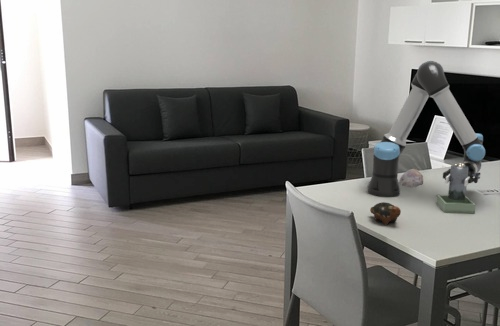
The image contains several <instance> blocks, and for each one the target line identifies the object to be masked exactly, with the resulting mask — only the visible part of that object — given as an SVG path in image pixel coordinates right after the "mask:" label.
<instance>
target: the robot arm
mask: <svg viewBox="0 0 500 326" xmlns="http://www.w3.org/2000/svg"><path fill="white" fill-rule="evenodd" d="M410 84H411V90H410V92H409V94H408V95H407V97H406V100H405V102H404V103H403V105H402V107H401V109H400V110H399V112H398V115H397V117H396V119H395V121H394V122H393V125H391V128H390V130H389V131H388V133H384V134H383V137H381V141H380V142H377V143H376V144H375V145H374V148H373V159H372V173H371V178H370V180H369V183H368V185H367V189H366V190H367V191H366V192H367V193H368V194H370V195H372V196H376V197H384V198H391V197H393V198H394V197H398V196H399V195H400V194H401V188H400V184H399V179H398V173H399V162H400V158H401V156H402V154H403V152H404V150H405V148H406V147H407V142H406V140H407V138H408V136H409V135H410V132H411V131H412V129H413V127H414V125H415V123H416V122H417V119H418V118H419V116H420V114H421V112H422V111H423V108H424V106H425V105H426V102H427V101H428V99H429V98H432V99H433V101H434V102H435V103H436V105H437V107H438V109H439V110H440V112H441V114H442V115H443V117H444V119H445V120H446V122H447V123H448V126H449V127H450V128H451V130H452V131H453V133H454V135H455V137H456V139H457V140H458V141H459V143H460V145H461V146H462V149H463V153H464V154H463V159H462V161H463V163H462V162H461V163H462V164H465V166H468V177H467V178H466V179H465V183H464V186H468V185H469V184H473V183H474V184H477V183H478V182H479V179H481V172H479V171H480V170H481V168H482V160H483V159H484V157H485V156H486V149H485V147H484V145H483V142H484V136H483V134H482V133H476V132H475V131H474V129H473V127H472V126H471V124H470V121H469V120H468V119H467V117H466V116H465V113H464V112H463V110H462V108H461V107H460V105H459V104H458V102H457V100H456V98H455V97H454V95H453V93H452V92H451V90H450V84H449V83H448V80H447V77H446V75H445V70H444V68H443V66H442V65H441V64H440V63H438V62H437V61H434V60H428V61H425V62H423V63H422V64H420V65H419V67H418V69H417V72H416V74H415V75H414V77H413V79H412V81H411V83H410ZM450 171H451V168H448V169H447V170H445V171H444V172H443V173H442V179H444V180H445V182H444V183H445V184H449V182H450Z"/></svg>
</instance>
